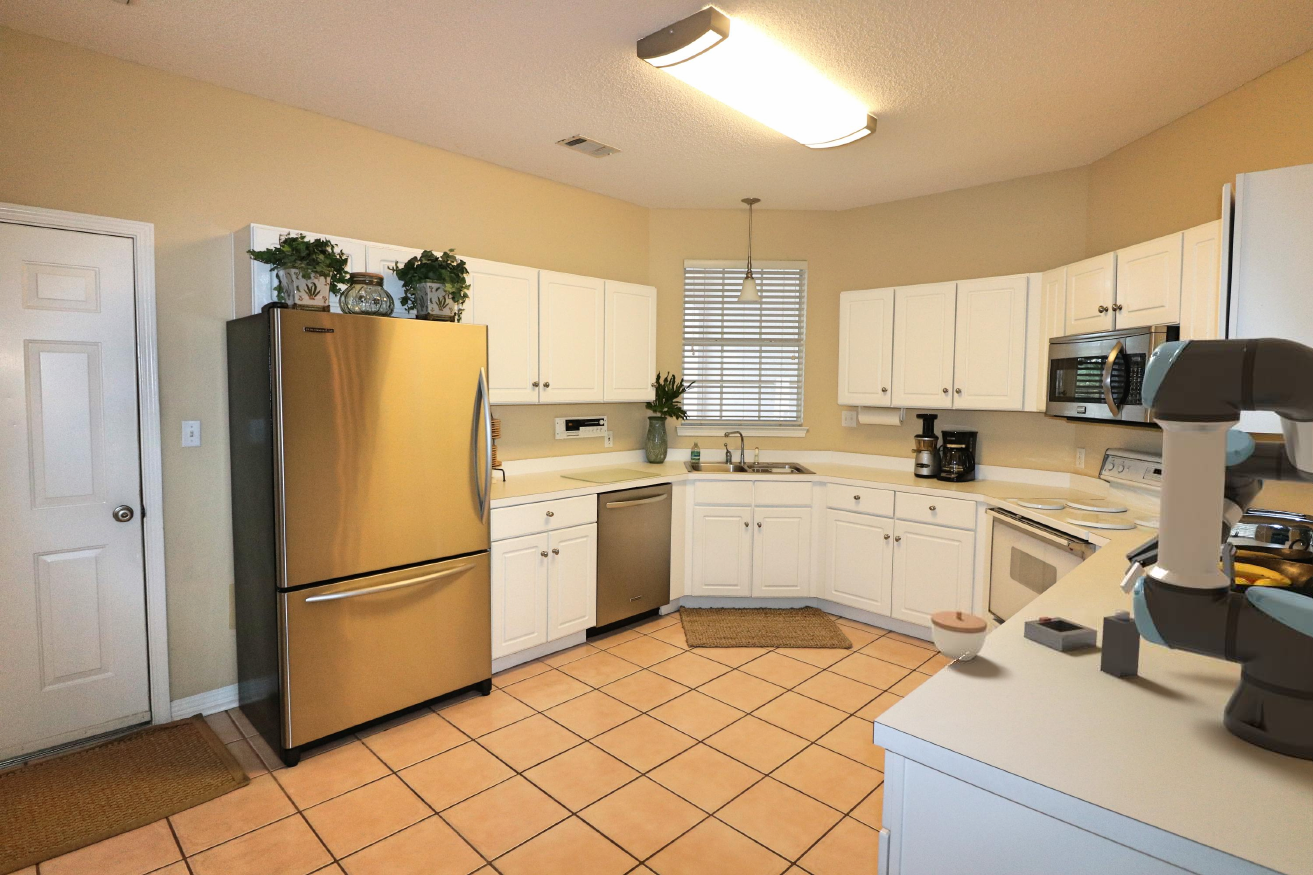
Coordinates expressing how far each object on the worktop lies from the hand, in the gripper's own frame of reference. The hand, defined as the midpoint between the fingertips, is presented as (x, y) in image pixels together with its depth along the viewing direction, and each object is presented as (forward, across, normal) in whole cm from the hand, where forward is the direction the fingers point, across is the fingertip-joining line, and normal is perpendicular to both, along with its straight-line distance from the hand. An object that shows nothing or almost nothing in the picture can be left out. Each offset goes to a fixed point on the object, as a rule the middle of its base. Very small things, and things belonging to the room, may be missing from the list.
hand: (1156, 599), depth 140 cm
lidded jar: (+34, +18, +14) cm, 41 cm away
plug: (+17, 0, -3) cm, 17 cm away
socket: (+14, +16, -6) cm, 22 cm away
